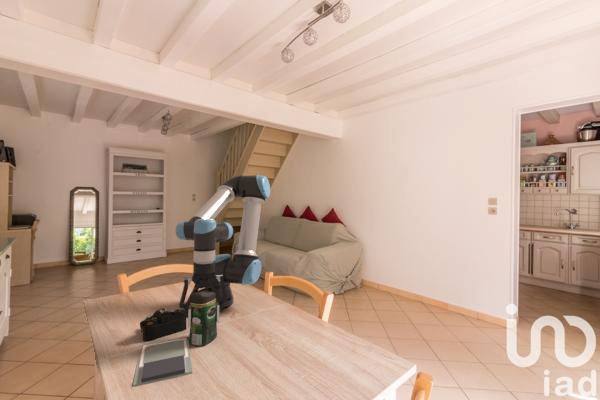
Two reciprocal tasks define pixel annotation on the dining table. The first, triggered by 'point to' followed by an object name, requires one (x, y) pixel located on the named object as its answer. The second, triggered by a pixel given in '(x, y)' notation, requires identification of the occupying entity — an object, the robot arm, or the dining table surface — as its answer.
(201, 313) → the coffee jar
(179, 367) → the pad
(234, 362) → the dining table surface
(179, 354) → the board
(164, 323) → the film camera
